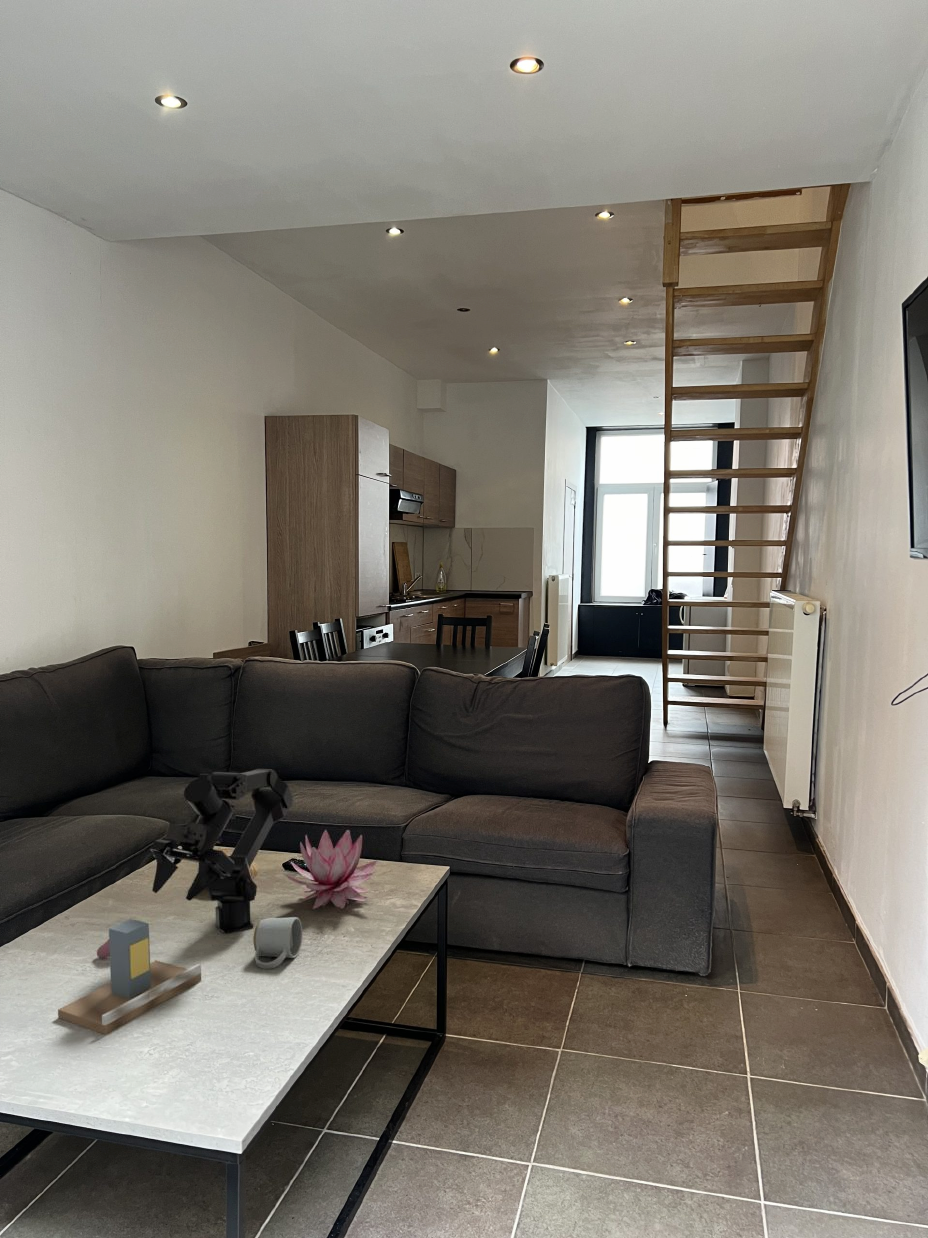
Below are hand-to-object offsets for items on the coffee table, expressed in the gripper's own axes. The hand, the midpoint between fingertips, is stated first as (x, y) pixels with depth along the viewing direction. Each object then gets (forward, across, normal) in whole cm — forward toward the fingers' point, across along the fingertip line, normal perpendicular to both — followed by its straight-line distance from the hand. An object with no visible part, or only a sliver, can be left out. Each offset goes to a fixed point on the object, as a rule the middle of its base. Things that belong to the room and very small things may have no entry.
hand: (170, 896), depth 177 cm
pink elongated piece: (+10, -14, +10) cm, 20 cm away
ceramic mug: (+2, +17, +18) cm, 25 cm away
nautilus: (-19, -24, +39) cm, 49 cm away
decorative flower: (-19, +9, +39) cm, 44 cm away
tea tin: (+19, +4, -1) cm, 19 cm away
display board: (+20, +5, 0) cm, 20 cm away
